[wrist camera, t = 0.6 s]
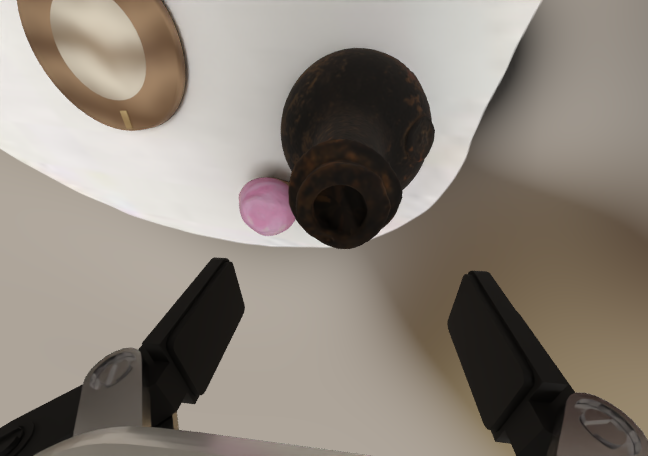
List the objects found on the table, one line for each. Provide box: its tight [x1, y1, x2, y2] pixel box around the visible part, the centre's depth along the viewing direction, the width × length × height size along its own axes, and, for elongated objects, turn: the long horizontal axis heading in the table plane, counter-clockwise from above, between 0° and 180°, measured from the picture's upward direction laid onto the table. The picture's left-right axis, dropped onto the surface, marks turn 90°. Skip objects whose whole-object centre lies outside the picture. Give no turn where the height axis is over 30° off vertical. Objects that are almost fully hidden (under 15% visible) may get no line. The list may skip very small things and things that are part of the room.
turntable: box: [17, 0, 185, 131], centre depth 32 cm, size 20×20×2 cm
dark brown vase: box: [281, 48, 435, 249], centre depth 23 cm, size 18×18×28 cm
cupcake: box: [239, 177, 295, 236], centre depth 37 cm, size 9×9×10 cm
